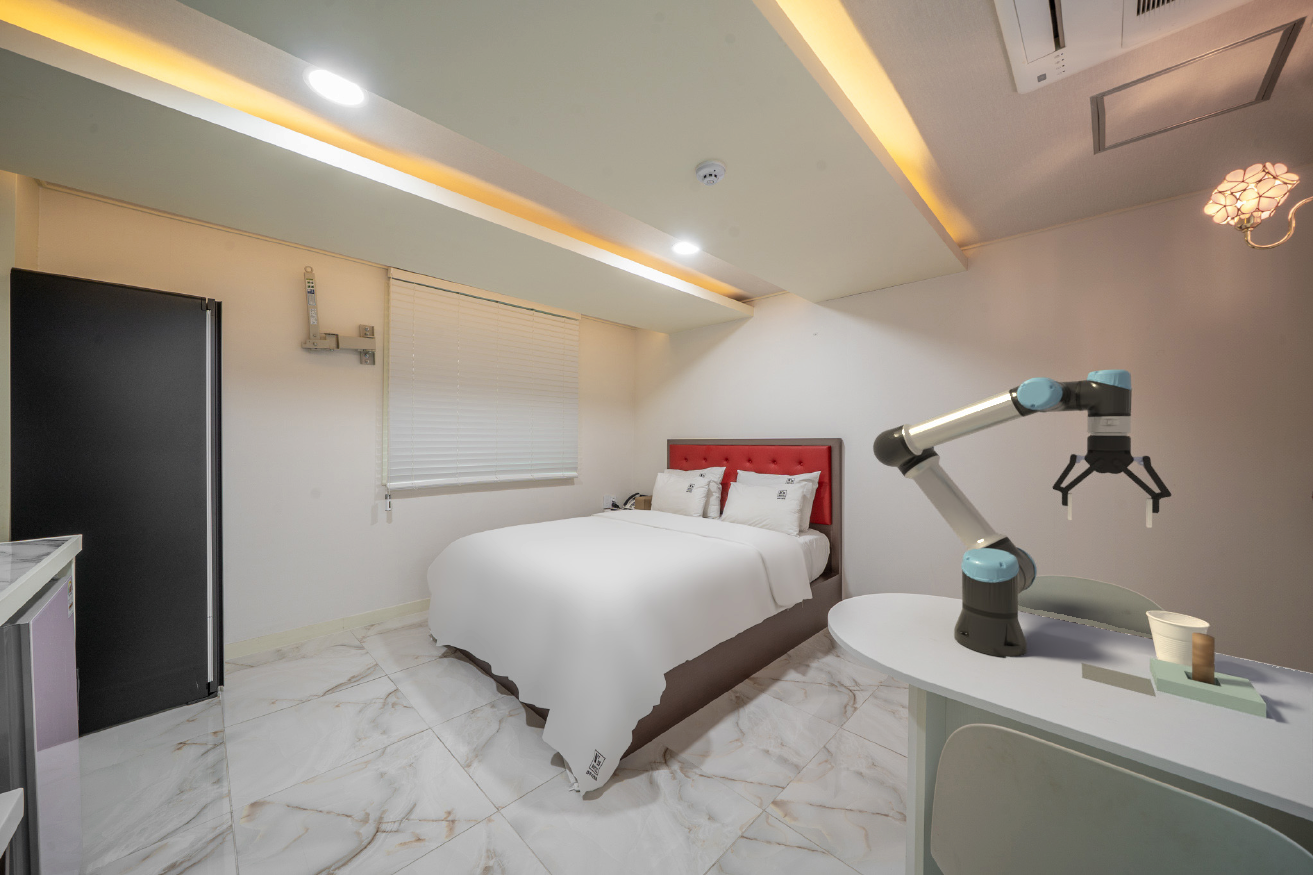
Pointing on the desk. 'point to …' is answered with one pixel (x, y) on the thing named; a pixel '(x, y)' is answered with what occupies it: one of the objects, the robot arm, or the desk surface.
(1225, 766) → the desk surface
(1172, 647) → the cup
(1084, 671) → the mat
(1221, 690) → the socket block
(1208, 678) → the peg
